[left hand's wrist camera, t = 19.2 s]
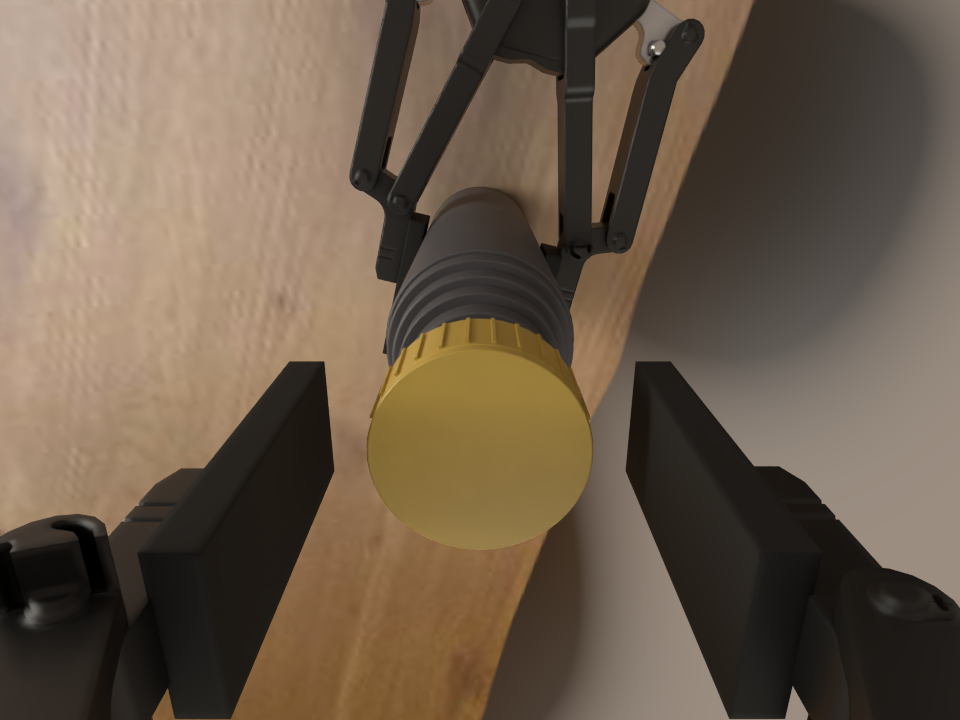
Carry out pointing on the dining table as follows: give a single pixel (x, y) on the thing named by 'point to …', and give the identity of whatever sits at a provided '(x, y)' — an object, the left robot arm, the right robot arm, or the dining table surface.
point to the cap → (479, 435)
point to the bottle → (479, 275)
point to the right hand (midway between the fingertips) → (456, 358)
